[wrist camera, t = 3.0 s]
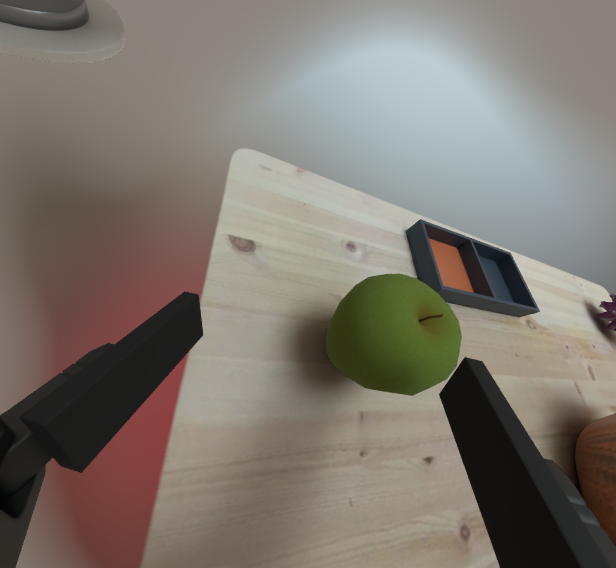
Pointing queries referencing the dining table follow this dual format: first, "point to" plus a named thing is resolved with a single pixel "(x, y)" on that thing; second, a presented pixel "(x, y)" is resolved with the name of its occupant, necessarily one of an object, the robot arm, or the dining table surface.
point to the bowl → (599, 471)
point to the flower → (609, 313)
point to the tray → (469, 271)
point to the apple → (394, 335)
